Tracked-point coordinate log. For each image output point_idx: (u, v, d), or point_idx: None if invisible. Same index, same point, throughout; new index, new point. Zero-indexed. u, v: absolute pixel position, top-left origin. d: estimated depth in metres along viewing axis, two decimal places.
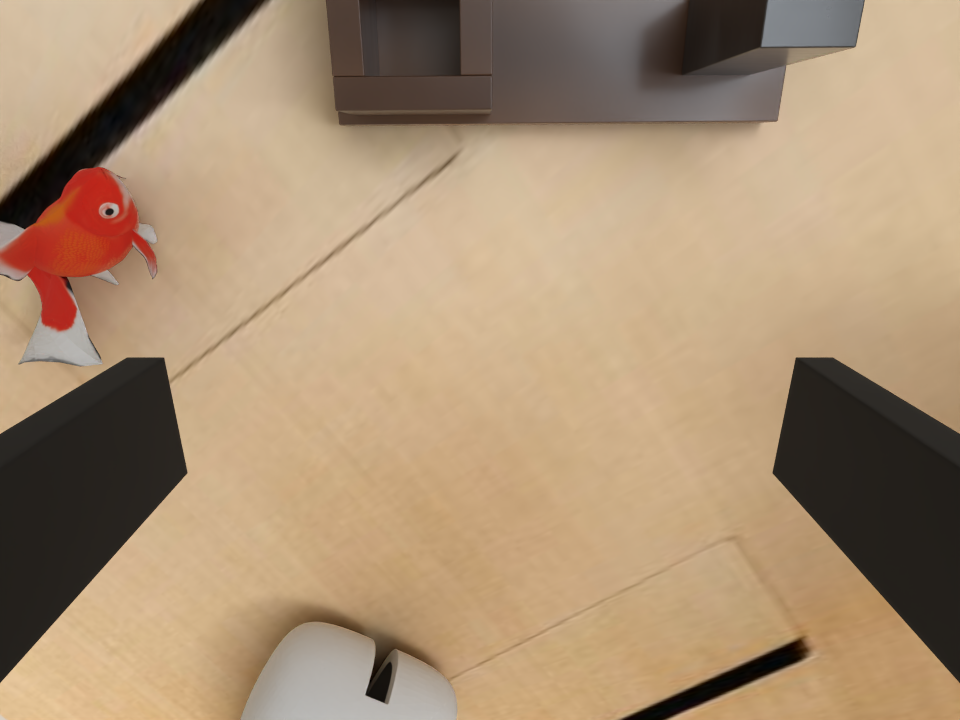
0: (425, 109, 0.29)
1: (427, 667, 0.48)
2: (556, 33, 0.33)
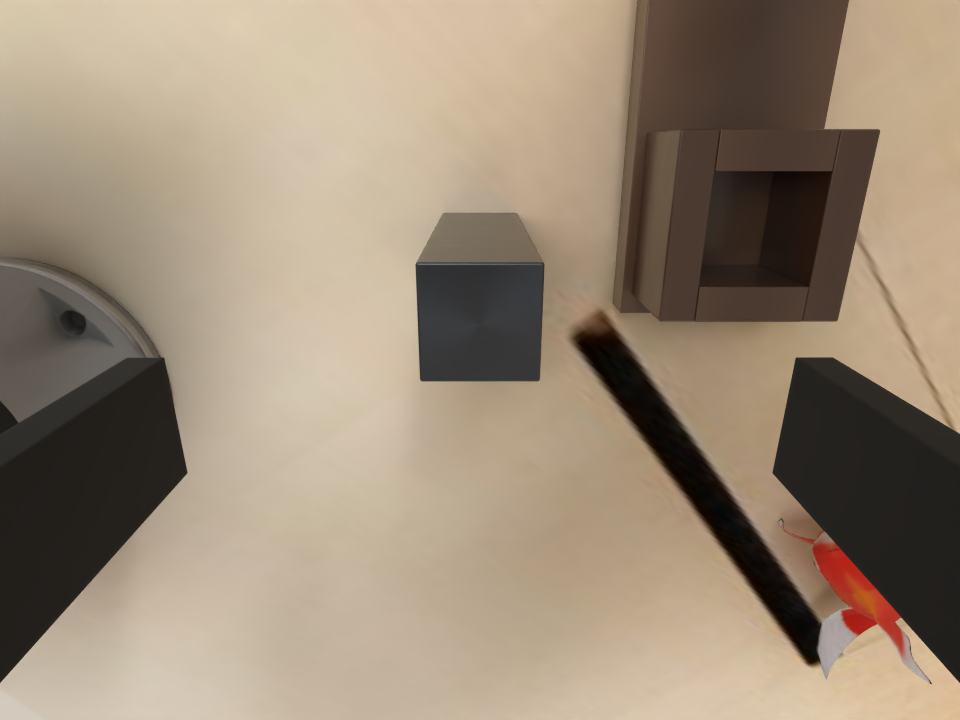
0: (859, 216, 0.24)
1: None
2: (738, 44, 0.26)
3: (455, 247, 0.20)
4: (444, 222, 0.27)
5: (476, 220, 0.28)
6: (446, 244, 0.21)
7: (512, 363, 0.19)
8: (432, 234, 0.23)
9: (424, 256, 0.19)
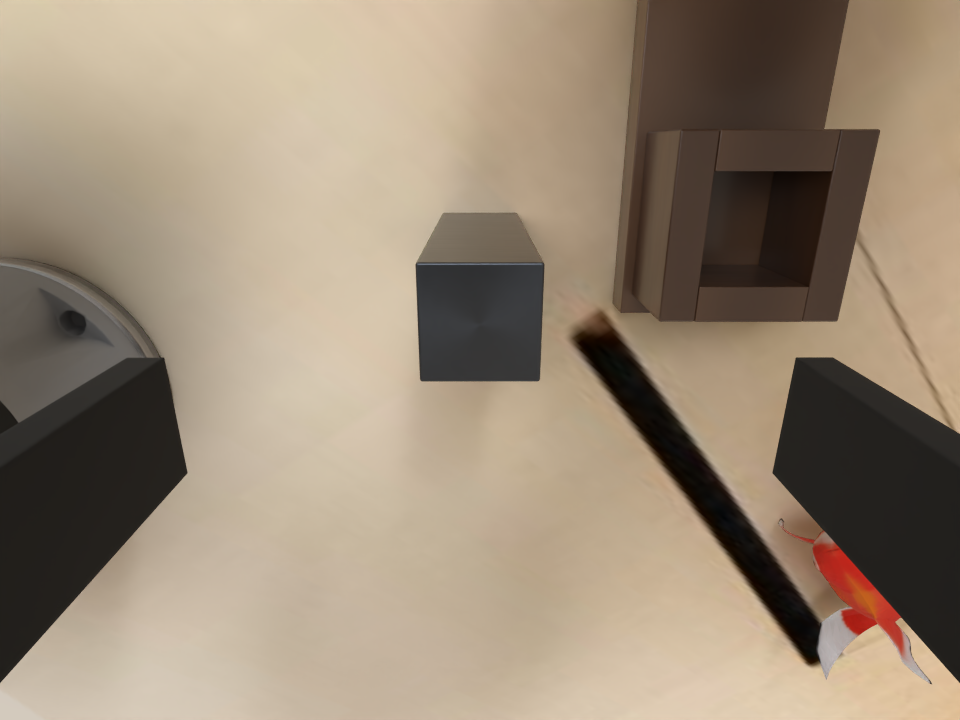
0: (859, 216, 0.24)
1: None
2: (738, 43, 0.26)
3: (455, 247, 0.20)
4: (444, 222, 0.27)
5: (476, 220, 0.28)
6: (446, 244, 0.21)
7: (512, 363, 0.19)
8: (432, 234, 0.23)
9: (424, 256, 0.19)
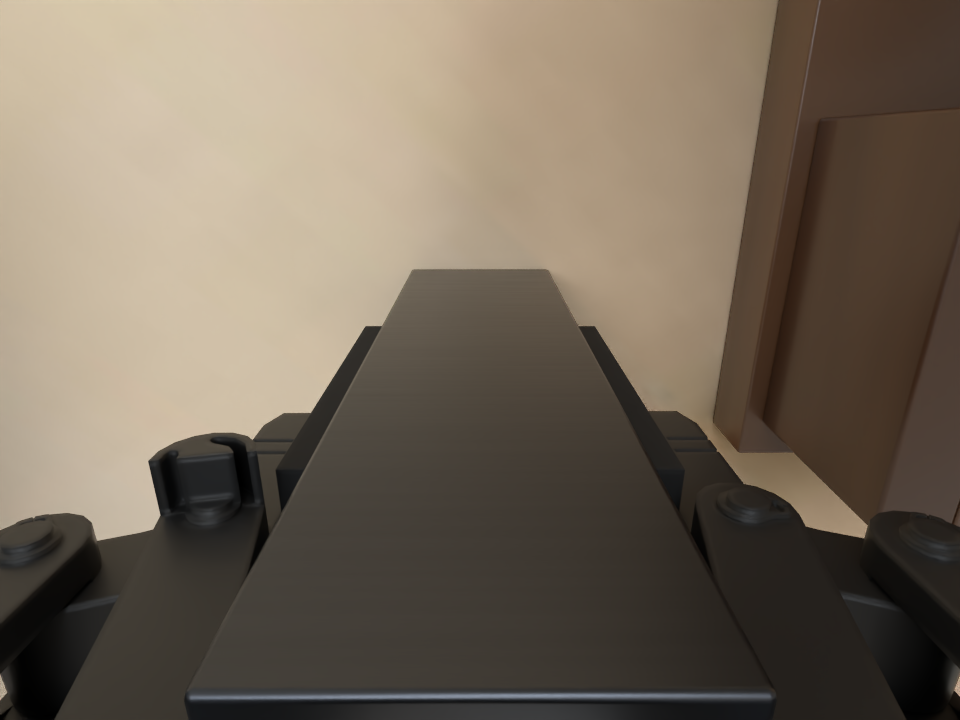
0: None
1: None
2: None
3: (402, 470, 0.06)
4: (406, 305, 0.13)
5: (473, 297, 0.14)
6: (380, 442, 0.07)
7: None
8: (362, 367, 0.09)
9: (260, 586, 0.05)
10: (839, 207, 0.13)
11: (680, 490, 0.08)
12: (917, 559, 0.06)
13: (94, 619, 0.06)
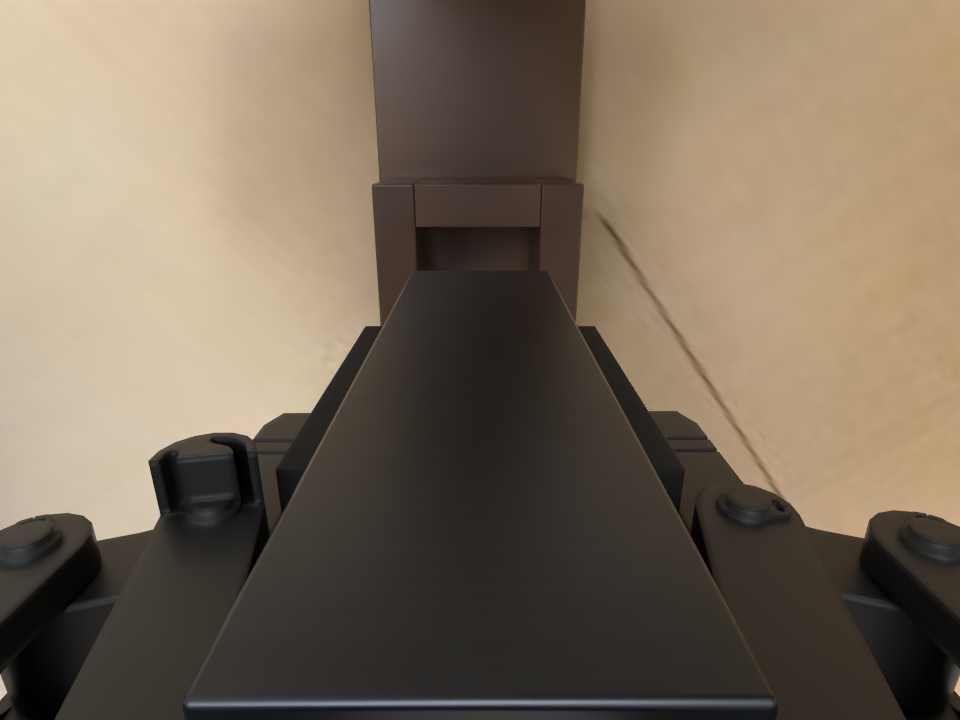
0: (577, 273, 0.23)
1: None
2: (473, 86, 0.25)
3: (402, 474, 0.06)
4: (406, 307, 0.13)
5: (472, 298, 0.14)
6: (379, 445, 0.07)
7: None
8: (361, 369, 0.09)
9: (259, 591, 0.05)
10: None
11: (680, 490, 0.08)
12: (917, 559, 0.06)
13: (94, 619, 0.06)
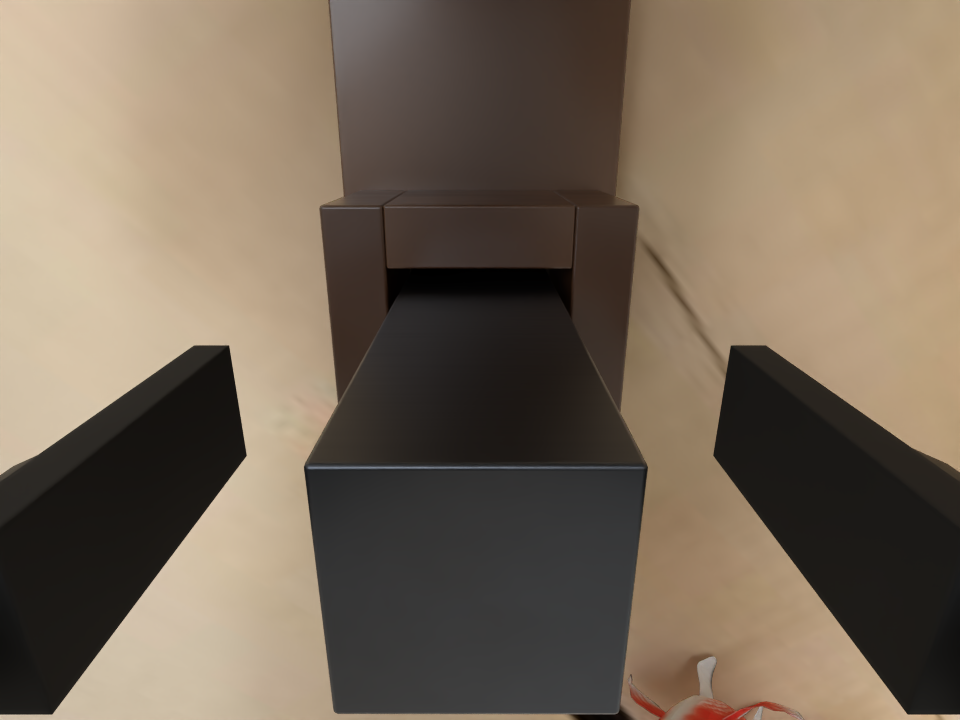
0: (626, 335, 0.16)
1: None
2: (473, 63, 0.18)
3: (423, 373, 0.09)
4: (418, 278, 0.16)
5: (472, 272, 0.17)
6: (405, 359, 0.10)
7: (555, 681, 0.08)
8: (387, 317, 0.12)
9: (338, 424, 0.08)
10: None
11: None
12: None
13: None
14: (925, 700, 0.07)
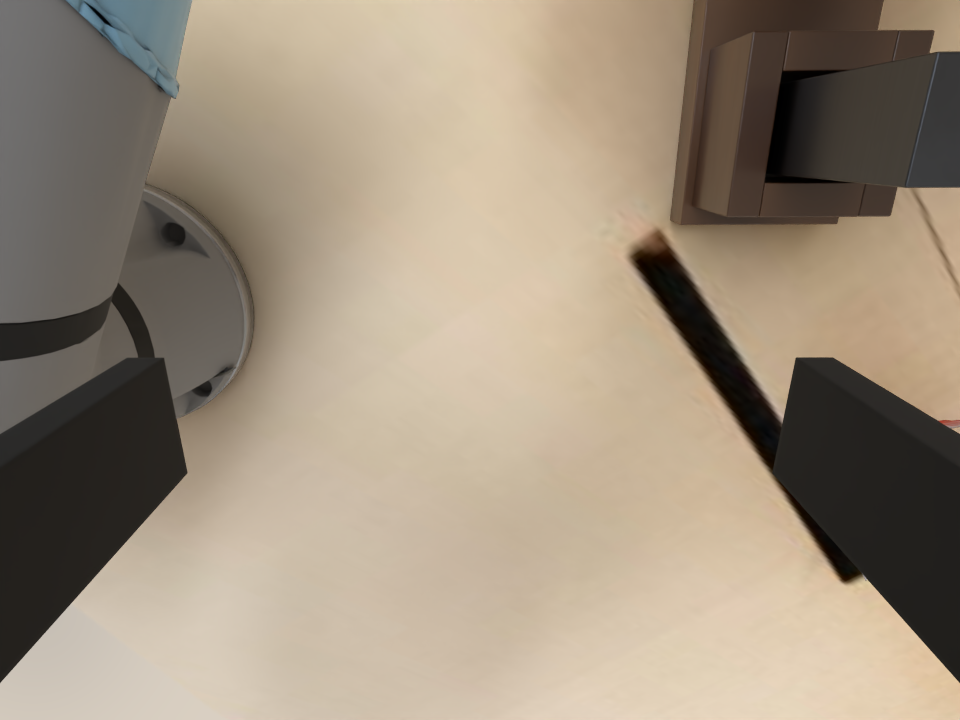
0: None
1: None
2: None
3: None
4: None
5: None
6: None
7: None
8: None
9: None
10: (716, 86, 0.29)
11: None
12: None
13: None
14: None
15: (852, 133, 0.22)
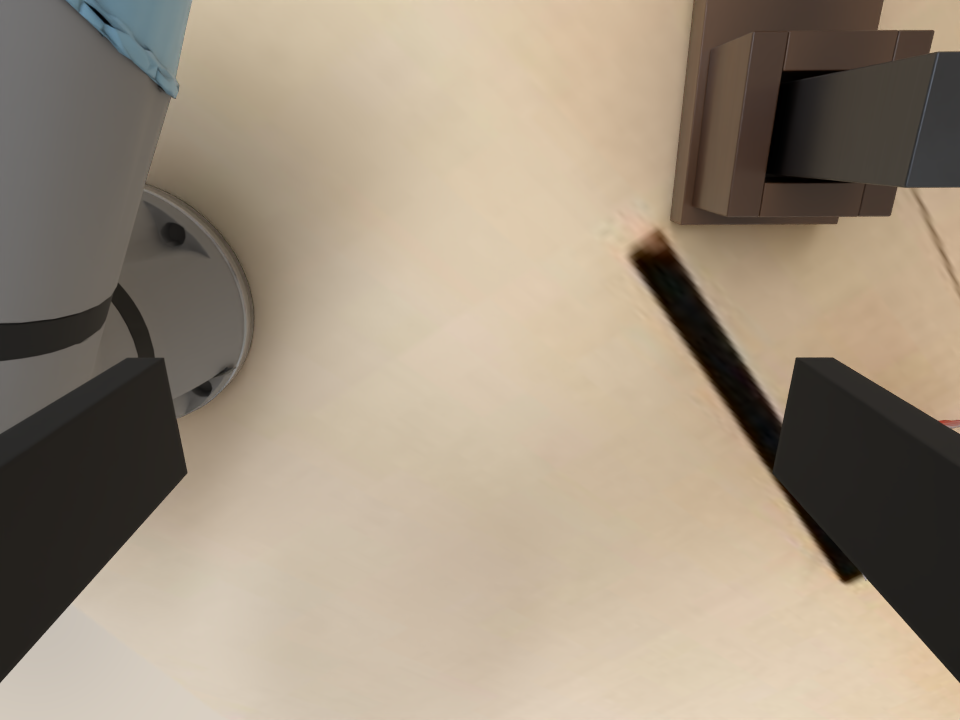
0: None
1: None
2: None
3: None
4: None
5: None
6: None
7: None
8: None
9: None
10: (716, 85, 0.29)
11: None
12: None
13: None
14: None
15: (852, 133, 0.22)
